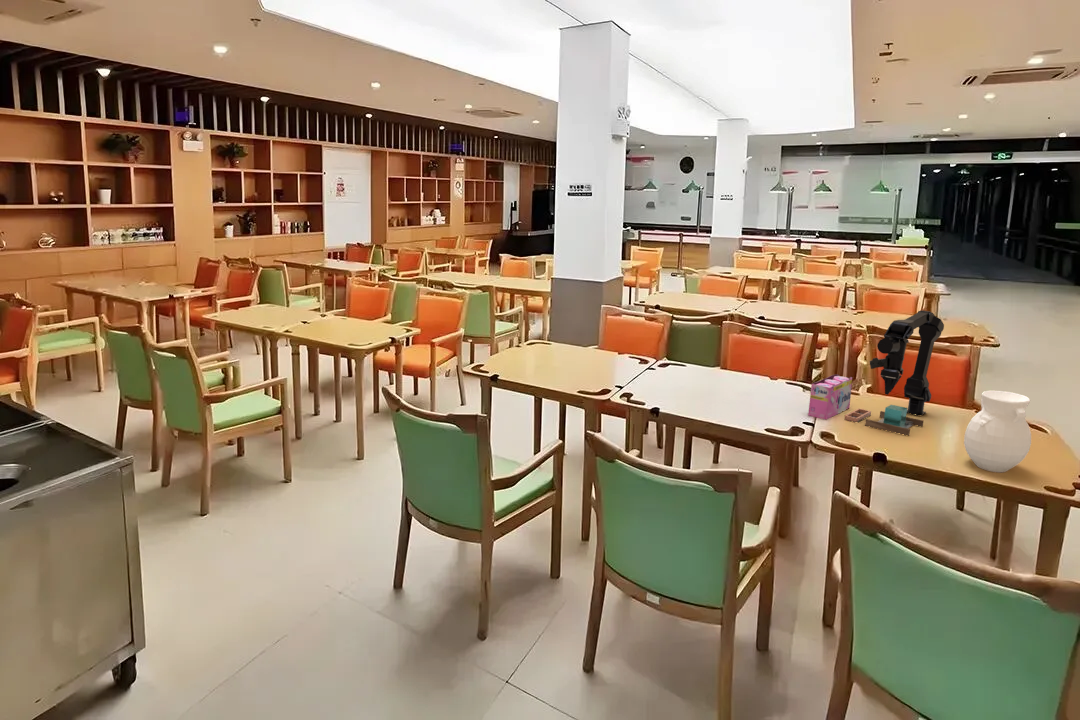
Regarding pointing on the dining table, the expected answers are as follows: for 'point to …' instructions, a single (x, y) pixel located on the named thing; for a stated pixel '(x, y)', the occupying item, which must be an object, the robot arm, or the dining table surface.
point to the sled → (896, 416)
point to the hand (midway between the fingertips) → (887, 393)
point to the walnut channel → (892, 427)
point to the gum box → (830, 396)
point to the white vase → (999, 431)
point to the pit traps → (857, 415)
